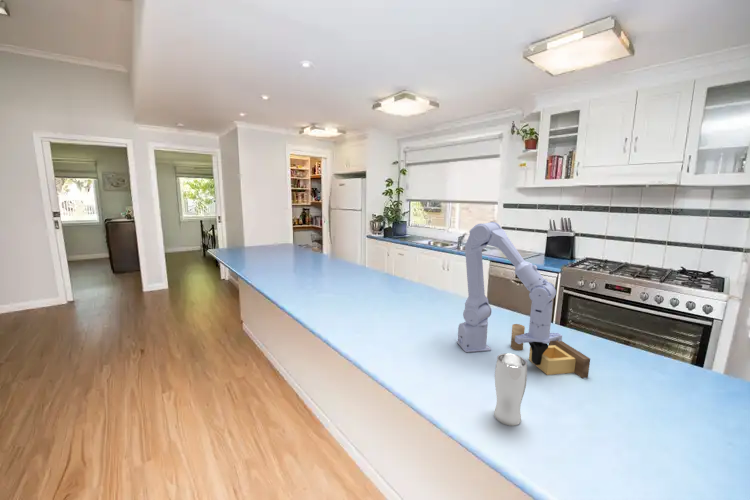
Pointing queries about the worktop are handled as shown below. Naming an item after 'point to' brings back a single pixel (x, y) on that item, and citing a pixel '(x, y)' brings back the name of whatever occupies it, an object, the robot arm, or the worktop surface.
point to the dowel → (516, 330)
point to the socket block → (555, 361)
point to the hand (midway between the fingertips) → (536, 363)
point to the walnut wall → (581, 359)
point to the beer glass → (509, 388)
